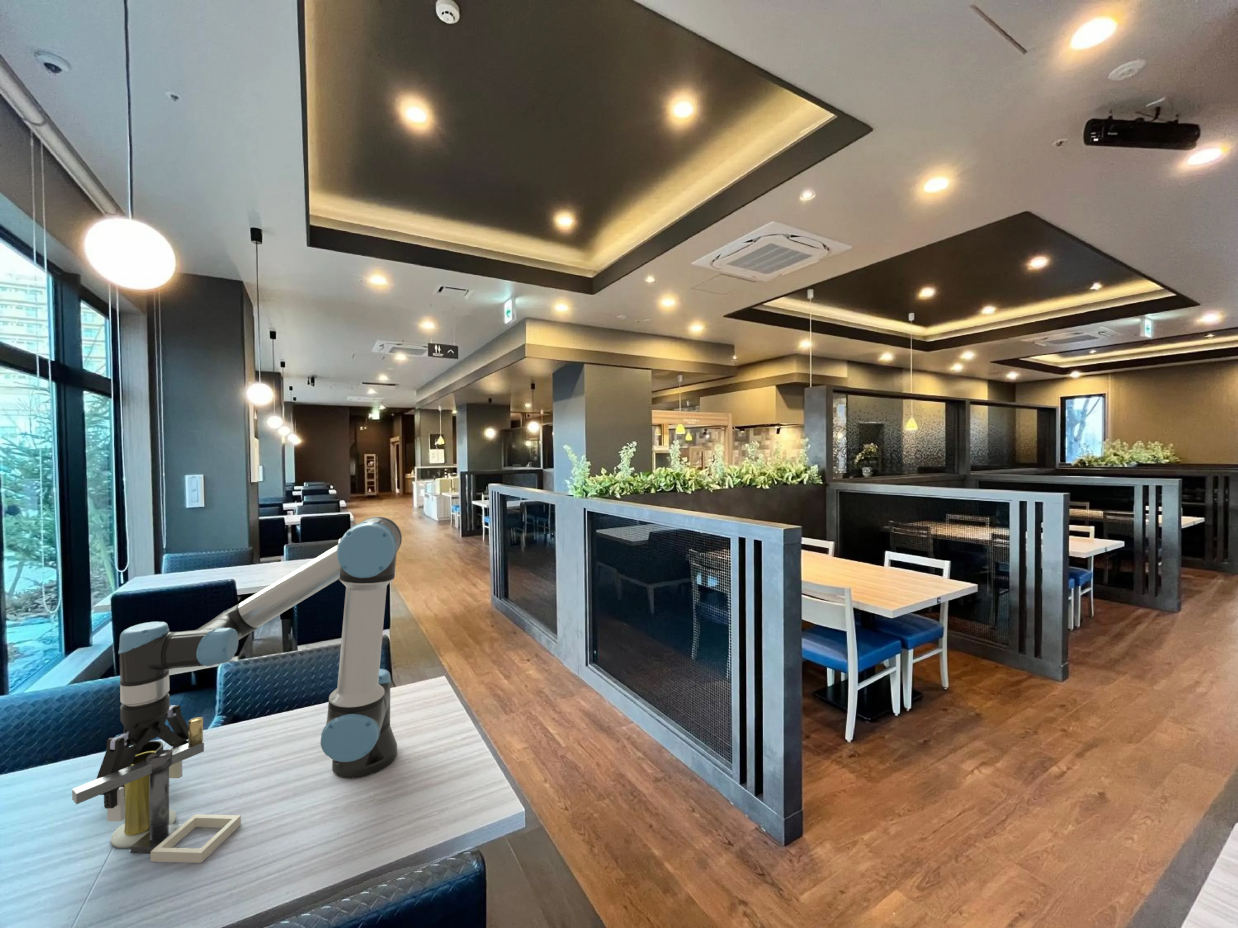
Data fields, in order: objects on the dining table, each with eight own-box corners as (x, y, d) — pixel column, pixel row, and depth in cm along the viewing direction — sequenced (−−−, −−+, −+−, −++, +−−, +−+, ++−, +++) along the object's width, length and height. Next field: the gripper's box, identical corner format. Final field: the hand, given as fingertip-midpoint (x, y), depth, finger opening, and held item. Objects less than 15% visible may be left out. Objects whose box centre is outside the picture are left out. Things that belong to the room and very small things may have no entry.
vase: (141, 815, 107) (138, 750, 107) (171, 812, 108) (168, 748, 108) (115, 837, 101) (111, 767, 101) (147, 833, 102) (143, 765, 102)
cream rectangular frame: (240, 824, 107) (240, 815, 107) (201, 862, 97) (201, 852, 97) (194, 823, 107) (194, 814, 107) (150, 861, 97) (150, 851, 97)
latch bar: (77, 805, 90) (77, 767, 90) (71, 797, 92) (70, 760, 92) (206, 751, 107) (206, 719, 106) (198, 746, 109) (198, 714, 108)
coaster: (188, 812, 110) (188, 809, 110) (145, 848, 100) (145, 844, 100) (144, 811, 110) (144, 808, 110) (96, 847, 100) (96, 843, 100)
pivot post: (186, 830, 105) (186, 759, 104) (160, 853, 99) (160, 778, 98) (158, 829, 105) (158, 758, 104) (130, 852, 99) (130, 777, 98)
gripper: (180, 671, 117) (181, 760, 117) (62, 730, 92) (64, 842, 93) (211, 672, 117) (212, 761, 117) (101, 731, 92) (104, 843, 93)
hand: (147, 797), depth 105 cm, fingers open, 12 cm apart
